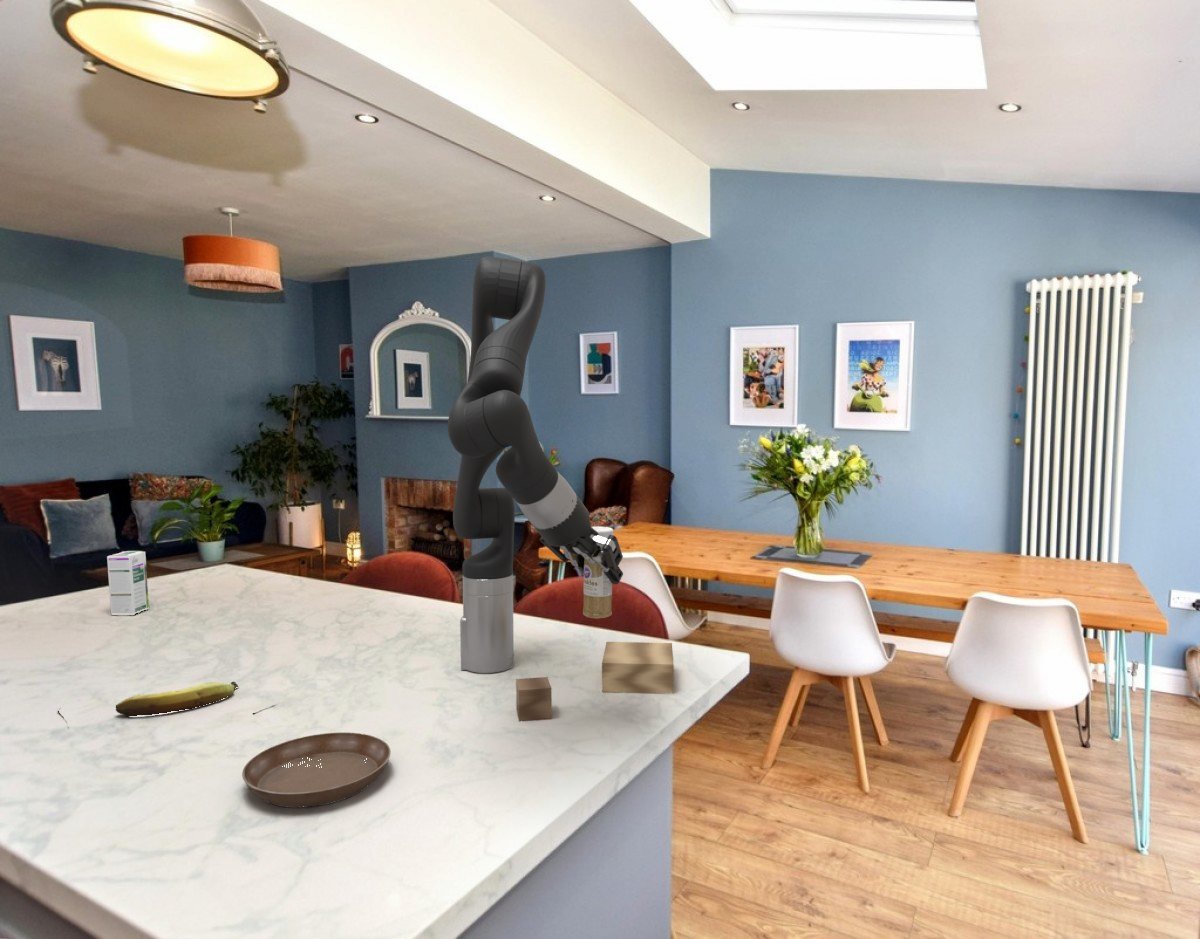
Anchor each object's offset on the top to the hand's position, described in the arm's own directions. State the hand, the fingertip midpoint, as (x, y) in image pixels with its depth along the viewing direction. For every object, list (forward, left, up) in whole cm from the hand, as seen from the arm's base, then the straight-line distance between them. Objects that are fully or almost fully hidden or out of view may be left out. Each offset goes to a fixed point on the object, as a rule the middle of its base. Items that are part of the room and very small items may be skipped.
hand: (605, 576), depth 115 cm
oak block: (+5, +15, -22) cm, 27 cm away
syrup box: (-117, +53, -22) cm, 131 cm away
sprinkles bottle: (-1, -2, -6) cm, 6 cm away
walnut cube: (-11, -1, -22) cm, 25 cm away
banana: (-68, 0, -22) cm, 72 cm away
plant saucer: (-35, -24, -22) cm, 48 cm away
